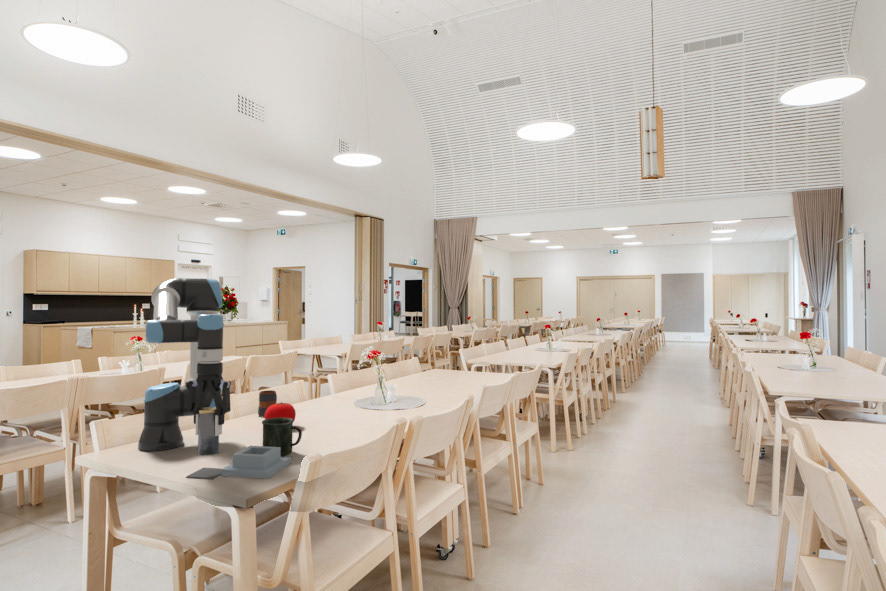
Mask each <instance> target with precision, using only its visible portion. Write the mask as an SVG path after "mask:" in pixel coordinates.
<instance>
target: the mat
mask: <svg viewBox="0 0 886 591" xmlns="http://www.w3.org/2000/svg"><path fill="white" fill-rule="evenodd" d="M221 469H222V468H218V467H217V468H216V467H202V468H199V469H198V470H196V471H194V472H192V473H190V474H189V475H186V476H185V477H186V478H187V479H200V480H201V479H202V480H214V479H216V478H218V477H219V476H221Z"/></svg>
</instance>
